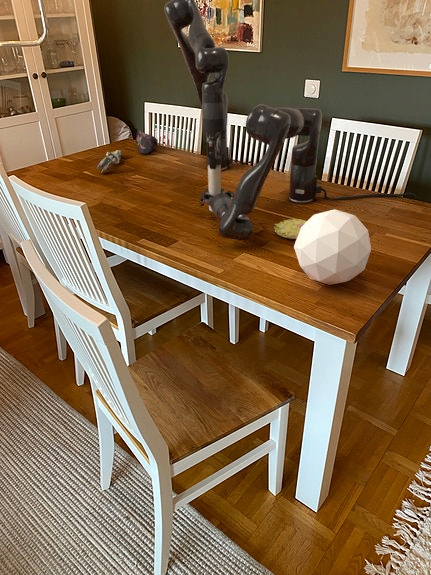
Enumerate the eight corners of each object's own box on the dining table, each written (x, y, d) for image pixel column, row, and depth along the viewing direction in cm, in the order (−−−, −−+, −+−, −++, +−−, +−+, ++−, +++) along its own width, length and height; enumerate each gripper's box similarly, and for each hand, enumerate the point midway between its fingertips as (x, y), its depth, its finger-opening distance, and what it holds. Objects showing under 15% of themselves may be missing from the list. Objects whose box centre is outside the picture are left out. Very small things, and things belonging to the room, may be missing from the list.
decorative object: (286, 211, 157) (342, 219, 147) (286, 217, 158) (341, 226, 148) (260, 233, 142) (319, 243, 133) (260, 240, 144) (319, 251, 134)
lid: (207, 166, 153) (207, 159, 152) (206, 161, 158) (205, 155, 156) (222, 165, 154) (222, 158, 152) (220, 160, 158) (220, 154, 157)
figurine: (101, 154, 197) (119, 141, 223) (91, 167, 200) (110, 152, 227) (114, 165, 199) (130, 151, 225) (103, 178, 203) (121, 162, 229)
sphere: (306, 297, 126) (271, 236, 124) (363, 261, 128) (330, 201, 126) (334, 302, 107) (294, 231, 105) (400, 260, 109) (362, 189, 107)
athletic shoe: (143, 144, 221) (166, 143, 225) (132, 120, 233) (154, 119, 237) (142, 163, 229) (164, 162, 234) (131, 139, 241) (152, 138, 245)
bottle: (223, 208, 166) (223, 158, 156) (218, 212, 162) (217, 162, 152) (212, 206, 168) (211, 157, 158) (206, 210, 164) (205, 160, 154)
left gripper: (206, 111, 154) (207, 160, 163) (198, 120, 142) (200, 172, 151) (227, 111, 152) (227, 160, 162) (221, 120, 141) (221, 173, 150)
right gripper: (244, 195, 149) (231, 179, 163) (202, 199, 147) (193, 182, 161) (243, 216, 153) (231, 198, 167) (203, 220, 151) (194, 202, 165)
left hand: (214, 166), depth 156 cm, fingers closed on lid, 5 cm apart
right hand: (213, 191), depth 164 cm, fingers closed on bottle, 4 cm apart
